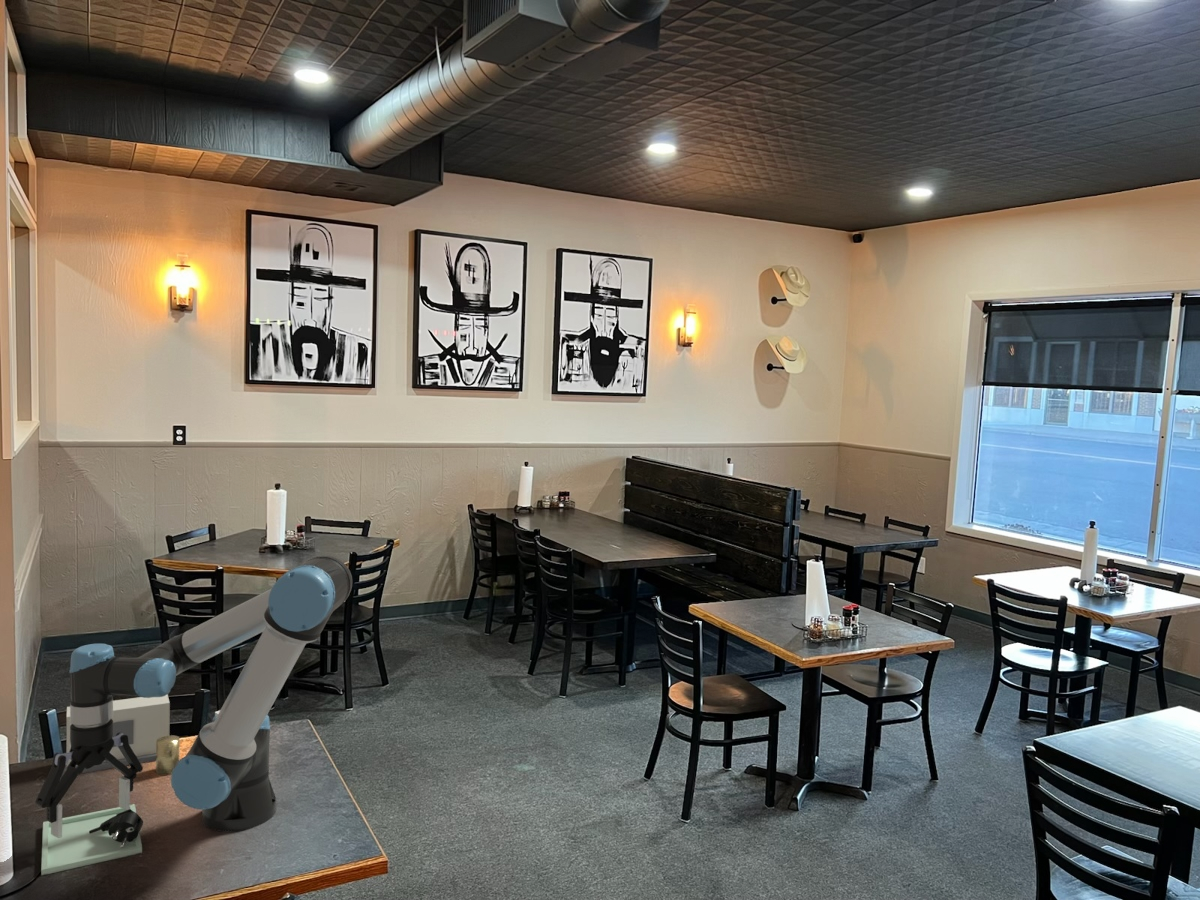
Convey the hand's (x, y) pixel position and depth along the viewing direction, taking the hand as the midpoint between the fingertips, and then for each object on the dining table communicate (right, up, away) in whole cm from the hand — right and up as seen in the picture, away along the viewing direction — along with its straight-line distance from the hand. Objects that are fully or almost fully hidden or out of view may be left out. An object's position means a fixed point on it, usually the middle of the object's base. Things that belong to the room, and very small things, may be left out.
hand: (91, 821), depth 175 cm
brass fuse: (-1, -2, +32) cm, 32 cm away
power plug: (-1, -4, -1) cm, 4 cm away
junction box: (-15, -1, +37) cm, 40 cm away
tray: (0, -4, 0) cm, 4 cm away
